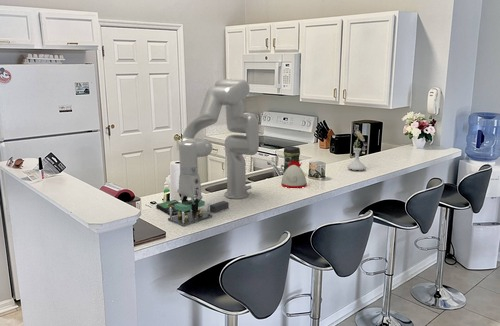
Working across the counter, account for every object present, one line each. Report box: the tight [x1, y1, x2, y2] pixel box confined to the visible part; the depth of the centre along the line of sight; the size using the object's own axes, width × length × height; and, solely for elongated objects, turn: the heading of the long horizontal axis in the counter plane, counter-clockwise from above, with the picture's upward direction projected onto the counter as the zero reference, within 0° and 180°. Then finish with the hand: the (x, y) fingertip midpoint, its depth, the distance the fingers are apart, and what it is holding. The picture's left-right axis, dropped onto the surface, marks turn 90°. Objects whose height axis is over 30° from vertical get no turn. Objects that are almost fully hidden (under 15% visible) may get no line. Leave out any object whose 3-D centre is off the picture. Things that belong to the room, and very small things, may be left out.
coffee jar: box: [282, 145, 301, 176], centre depth 263 cm, size 10×8×19 cm
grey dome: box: [281, 160, 307, 189], centre depth 244 cm, size 14×14×15 cm
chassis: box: [167, 203, 213, 227], centre depth 191 cm, size 16×11×6 cm
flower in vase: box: [347, 130, 367, 171], centre depth 281 cm, size 13×11×25 cm
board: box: [174, 198, 206, 212], centre depth 190 cm, size 12×6×3 cm, turn 138°
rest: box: [210, 200, 230, 214], centre depth 204 cm, size 9×4×3 cm, turn 138°
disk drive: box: [155, 199, 192, 217], centre depth 204 cm, size 10×3×15 cm
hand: (190, 210), depth 191 cm, fingers closed on board, 6 cm apart
